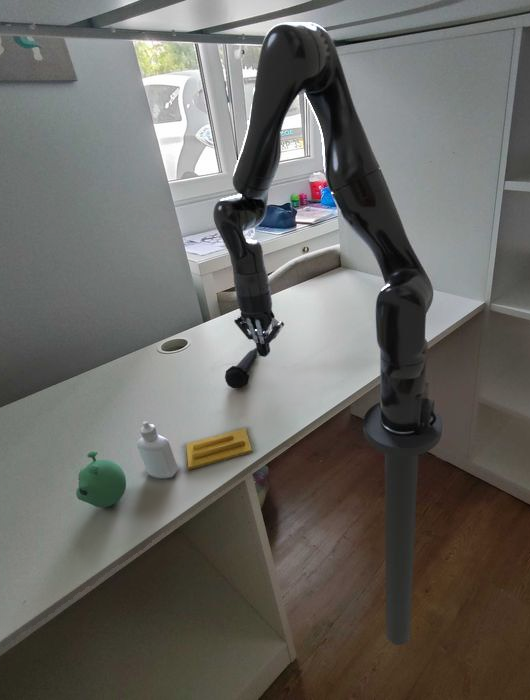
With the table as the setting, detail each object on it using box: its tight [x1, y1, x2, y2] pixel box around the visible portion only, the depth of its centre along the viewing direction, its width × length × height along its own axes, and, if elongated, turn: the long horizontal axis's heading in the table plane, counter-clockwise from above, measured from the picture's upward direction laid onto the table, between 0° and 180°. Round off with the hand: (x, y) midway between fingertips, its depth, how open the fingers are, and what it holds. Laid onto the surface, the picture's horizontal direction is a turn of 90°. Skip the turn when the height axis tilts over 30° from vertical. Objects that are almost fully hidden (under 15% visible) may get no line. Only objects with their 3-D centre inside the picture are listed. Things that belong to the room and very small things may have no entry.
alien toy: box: [75, 450, 127, 508], centre depth 75 cm, size 7×8×10 cm
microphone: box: [224, 347, 258, 389], centre depth 111 cm, size 6×6×20 cm
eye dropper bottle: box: [136, 420, 179, 479], centre depth 80 cm, size 4×6×12 cm
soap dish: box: [185, 427, 253, 470], centre depth 87 cm, size 12×7×2 cm, turn 110°
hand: (264, 354), depth 107 cm, fingers closed
